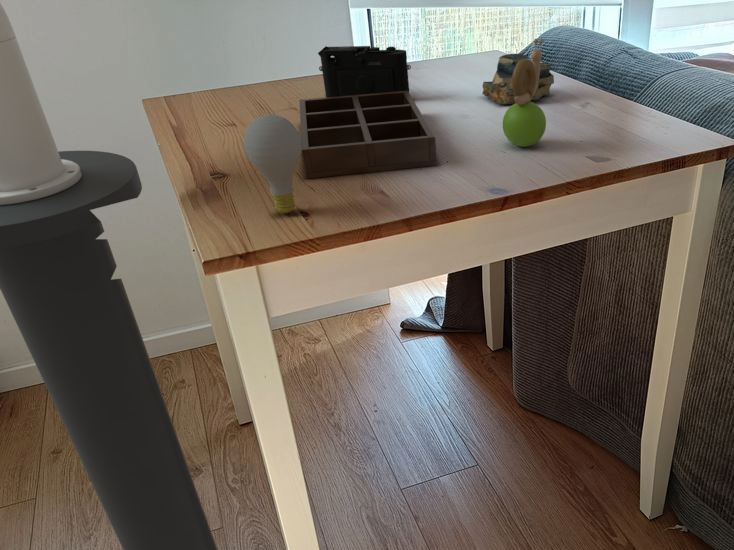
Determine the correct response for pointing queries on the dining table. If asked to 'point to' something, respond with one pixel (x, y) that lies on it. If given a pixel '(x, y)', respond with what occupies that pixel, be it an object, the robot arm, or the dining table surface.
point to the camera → (363, 70)
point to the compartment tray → (364, 134)
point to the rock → (502, 80)
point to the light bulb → (275, 156)
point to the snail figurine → (525, 103)
